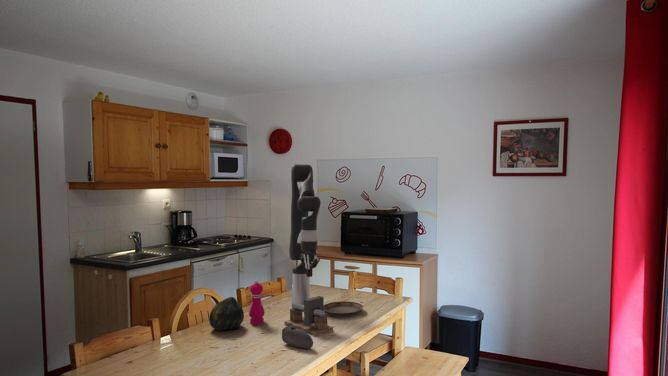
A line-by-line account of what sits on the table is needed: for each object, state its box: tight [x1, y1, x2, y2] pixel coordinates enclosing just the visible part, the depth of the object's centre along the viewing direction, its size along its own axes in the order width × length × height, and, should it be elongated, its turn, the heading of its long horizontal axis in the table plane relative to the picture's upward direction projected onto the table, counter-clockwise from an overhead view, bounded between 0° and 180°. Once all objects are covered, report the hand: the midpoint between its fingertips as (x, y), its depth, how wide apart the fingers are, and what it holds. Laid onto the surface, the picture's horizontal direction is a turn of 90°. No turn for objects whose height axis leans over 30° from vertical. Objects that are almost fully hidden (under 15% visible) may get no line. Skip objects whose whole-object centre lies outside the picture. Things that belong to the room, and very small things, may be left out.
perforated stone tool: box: [281, 325, 314, 349], centre depth 176 cm, size 15×5×7 cm, turn 52°
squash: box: [208, 296, 245, 331], centre depth 199 cm, size 14×15×15 cm
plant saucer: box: [324, 300, 364, 319], centre depth 221 cm, size 21×21×3 cm
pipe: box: [291, 302, 327, 318], centre depth 199 cm, size 20×3×3 cm, turn 44°
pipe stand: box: [283, 307, 334, 337], centre depth 199 cm, size 22×10×7 cm, turn 44°
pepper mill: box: [248, 279, 265, 325], centre depth 207 cm, size 7×7×20 cm
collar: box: [303, 295, 325, 325], centre depth 196 cm, size 3×9×10 cm, turn 134°
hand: (309, 276), depth 204 cm, fingers closed
